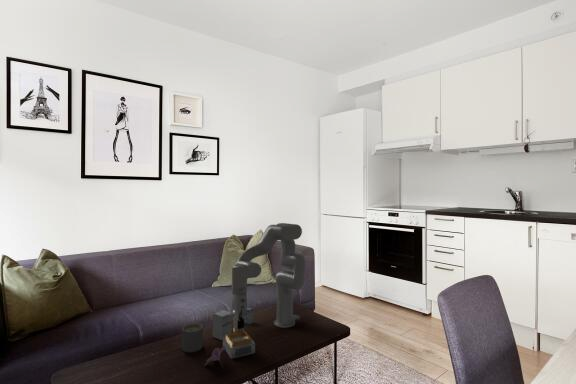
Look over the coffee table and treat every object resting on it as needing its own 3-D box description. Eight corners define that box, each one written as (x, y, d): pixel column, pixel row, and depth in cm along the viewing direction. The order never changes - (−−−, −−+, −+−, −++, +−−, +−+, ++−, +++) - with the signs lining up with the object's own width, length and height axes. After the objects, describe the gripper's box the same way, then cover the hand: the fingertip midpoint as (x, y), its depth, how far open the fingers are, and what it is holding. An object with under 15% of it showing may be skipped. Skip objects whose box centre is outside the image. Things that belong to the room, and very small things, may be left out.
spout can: (241, 327, 167) (242, 308, 167) (245, 331, 162) (245, 311, 162) (227, 330, 164) (227, 310, 164) (230, 334, 159) (231, 314, 159)
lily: (230, 360, 155) (221, 340, 157) (237, 361, 146) (228, 340, 147) (206, 375, 149) (198, 354, 151) (212, 377, 139) (203, 355, 141)
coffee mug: (203, 350, 163) (204, 330, 162) (182, 353, 159) (183, 333, 159) (199, 338, 175) (200, 319, 175) (180, 341, 171) (180, 322, 171)
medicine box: (238, 322, 197) (238, 307, 197) (242, 319, 201) (242, 305, 201) (249, 325, 193) (249, 310, 193) (253, 322, 197) (253, 308, 197)
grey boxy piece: (244, 341, 173) (245, 328, 173) (255, 353, 160) (255, 340, 160) (222, 345, 167) (222, 333, 167) (231, 359, 154) (231, 345, 154)
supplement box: (221, 340, 173) (221, 316, 173) (212, 336, 177) (212, 313, 177) (232, 335, 179) (232, 312, 179) (222, 332, 183) (223, 309, 183)
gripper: (252, 293, 157) (251, 331, 158) (240, 284, 173) (240, 318, 173) (237, 295, 154) (237, 334, 154) (226, 286, 169) (226, 321, 169)
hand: (238, 325), depth 163 cm, fingers closed on spout can, 5 cm apart
